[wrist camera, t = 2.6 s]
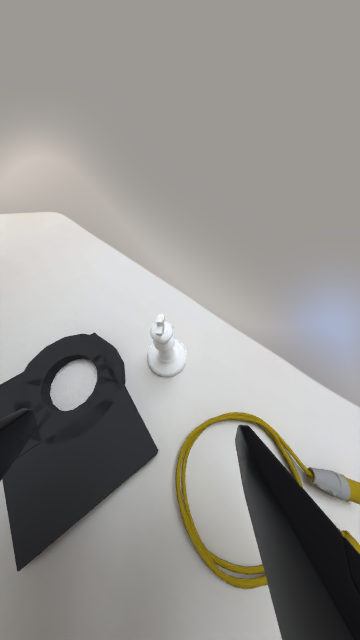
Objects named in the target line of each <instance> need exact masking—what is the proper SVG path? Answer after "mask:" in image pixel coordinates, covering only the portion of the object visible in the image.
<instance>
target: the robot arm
mask: <svg viewBox="0 0 360 640" xmlns="http://www.w3.org/2000/svg"><path fill="white" fill-rule="evenodd" d="M37 424H38V423H37V419H36V415H35V411H34V410H33V409H27V408H24V409H20V410H18V411H16V412H14V413H12V414H10V415H8V416H6V417H4V418H2V419H0V481H1V480H2V478H3V477H4V476H5V474H6V473H7V472H8V470H9V469H10V467H11V466H12V464H13V463H14V461H15V460H16V458H17V457H18V455H19V454H20V452H21V451H22V449H23V448H24V446H25V445H26V443H27V442H28V440H29V439H30V437H31V436H32V434H33V433H34V431H35V429H36V427H37ZM235 444H236V450H237V456H238V462H239V467H240V473H241V479H242V485H243V490H244V494H245V498H246V502H247V506H248V510H249V514H250V518H251V522H252V525H253V529H254V533H255V537H256V541H257V544H258V548H259V552H260V556H261V560H262V564H263V567H264V571H265V575H266V579H267V583H268V587H269V590H270V594H271V598H272V602H273V606H274V610H275V613H276V617H277V621H278V625H279V629H280V633H281V636H282V640H360V553H359V552H358V551H357V550H356V549H355V548H354V547H353V545H352V544H351V543H350V542H349V541H348V540H347V538H345V537H343V535H342V533H341V532H340V531H339V529H338V528H337V527H336V526H335V525H334V524H333V522H332V521H331V520H330V519H329V518H328V517H327V516H326V514H325V513H324V512H323V511H322V510H321V509H320V507H319V506H318V505H317V504H316V503H315V502H314V500H313V499H312V498H311V497H310V496H309V495H308V494H307V492H306V491H305V490H304V489H303V488H302V487H301V485H300V484H299V483H298V482H297V481H296V480H295V479H294V477H293V476H292V475H291V474H290V473H289V472H288V470H287V469H286V468H285V467H284V466H283V465H282V464H281V462H280V461H279V460H278V459H277V458H276V457H275V455H274V454H273V453H272V452H271V451H270V450H269V449H268V447H267V446H266V445H265V444H264V443H263V442H262V440H261V439H260V438H259V437H258V436H257V435H256V434H255V432H254V431H253V430H252V429H251V428H250V427H249V426H248V425H239V426H238V428H237V433H236V438H235Z"/></svg>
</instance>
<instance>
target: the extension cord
mask: <svg viewBox="0 0 360 640" xmlns="http://www.w3.org/2000/svg"><path fill="white" fill-rule="evenodd" d="M228 419H230V420H241V421H248V422H254V423H256V424H258V425H259V426H261V427H262V428H263V429H264V430H265V431H266V432H267V433H268V434H269V435H270V436H271V437H272V439H273V440H274V441H275V443H276V444H277V445H278V447H279V448H280V450H281V452H282V453H283V455H284V457H285V458H286V460H287V462H288V464H289V466H290V468H291V470H292V473H293V475H294V477H295V480H296V481H297V482H298V483H299V484H300V485H301V487H302V483H301V480H300V478H299V475H298V473H297V471H296V469H295V467H294V465H293V463H292V461H291V459H290V457H289V456H288V454H287V452H286V450H285V449H284V447H283V445H284V446H285V448H286V449H287V450H288V451H289V453H290V454H291V455H292V457H293V458H294V459H295V460H296V462H297V463H298V464H299V466H300V467H301V468H302V469H303V470H304V471H305V472H306V473H307V477H308V479H309V481H310V483H312V484H314V485H316V486H317V487H319V488H321V489H322V490H324V491H325V492H327V493H329V494H331V495H332V496H334V497H336V498H339V499H342V500H345V501H352V502H355V503H357V504H360V483H359V482H356V481H353V480H351V479H348V478H346V477H345V476H344V475H341V474H339V473H336V472H333V471H328V470H323V469H316V468H311V467H309V468H308V469H307V468H306V467H305V466H304V465H303V464H302V462H301V461H300V460H299V459H298V457H297V456H296V455H295V454H294V452H293V451H292V450H291V449H290V447H289V446H288V445H287V444H286V443H285V441H284V440H283V439H282V438H281V437H280V436H279V435H278V433H277V432H276V431H275V430H274V429H273V428H272V427H270V426H269V425H268V424H267V423H266V422H264V421H263V420H262V419H260V418H258V417H256V416H253V415H250V414H247V413H238V412H235V413H227V414H223V415H220V416H218V417H215V418H212V419H210V420H208V421H206V422H204V423H203V424H202V425H200V426H199V427H197V428H196V429H195V430H194V431H193V432H192V433H191V434H190V435H189V436H188V437H187V439H186V440H185V442H184V444H183V446H182V448H181V451H180V454H179V458H178V463H177V469H176V489H177V497H178V503H179V507H180V512H181V515H182V518H183V521H184V525H185V527H186V529H187V532H188V534H189V536H190V539H191V540H192V542H193V544H194V546H195V547H196V549H197V551H198V553H199V554H200V556H201V557H202V558H203V560H204V561H205V563H206V564H207V566H208V567H209V568H210V569H211V570H212V571H213V572H214V573H215V574H216V575H217V576H218V577H219V578H221V579H222V580H224V581H225V582H226V583H228V584H230V585H232V586H234V587H238V588H242V589H252V588H256V587H259V586H263V585H268V583H267V579H266V575H265V574H264V575H263V576H261V577H259V578H251V579H241V578H235V577H232V576H229V575H227V574H226V573H224V572H223V571H221V570H220V569H219V568H218V567H217V565H216V564H218V565H219V566H221V567H223V568H225V569H228V570H230V571H232V572H237V573H242V574H247V575H248V574H261V573H264V572H265V571H264V567H263V565H261V566H255V567H244V566H238V565H233V564H231V563H228V562H226V561H224V560H222V559H219V558H218V557H216V556H215V555H213V554H212V553H211V552H209V551H208V550H207V549H206V547H205V546H204V544H203V543H202V541H201V539H200V537H199V535H198V533H197V530H196V528H195V526H194V523H193V520H192V517H191V514H190V510H189V506H188V502H187V496H186V487H185V469H186V462H187V458H188V454H189V451H190V449H191V447H192V445H193V443H194V441H195V440H196V439H197V437H198V436H199V435H200V434H201V433H202V432H203V431H204V430H205V429H206V428H207V427H208V426H209V425H211V424H212V423H215V422H218V421H222V420H228ZM282 444H283V445H282ZM185 452H186V453H185ZM184 454H185V456H184ZM183 456H184V459H183ZM182 459H183V465H182V492H183V498H184V504H185V508H186V511H185V508H184V505H183V501H182V497H181V489H180V468H181V462H182ZM302 488H303V487H302ZM341 533H342V535H343V537H345V538H347V540H348V541H349V542H350V543H351V544H352V545H353V547H354V548H355V549H356V550H357V551H358V552H359V553H360V545H359V543H358V542H357V541H356V540H355V539H354V538H353V537H352V536H351V535H350V533H349V532H348V531H342V532H341ZM215 563H216V564H215Z"/></svg>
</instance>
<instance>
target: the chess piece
mask: <svg viewBox="0 0 360 640" xmlns="http://www.w3.org/2000/svg"><path fill="white" fill-rule="evenodd" d="M164 319H165V315H164V314H159V317H157V319H156V322H155V323H154V324H153V325H152V327H151V329H150V334H151V337H152V338H153V344H152V346H151V347H150V349H149V352H148V362H149V365H150V367H151V369H152V370H153V371H154V372H155V373H156V374H158V375H160V376H165V377H169V376H174V375H176V374H178V373H179V372H180V371H181V370H182V369H183V368H184V366H185V364H186V361H187V352H186V349H185V347H184V345H183V344H182V343H181V342H180V341H179V340H177V339H175V337H174V335H173V333H174V329H173V326H172V325H171V323H169V322H168V321H164Z"/></svg>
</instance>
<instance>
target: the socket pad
mask: <svg viewBox="0 0 360 640" xmlns="http://www.w3.org/2000/svg"><path fill="white" fill-rule="evenodd" d="M79 358H87V359H91V360H92V361H93V362H94V364H95V366H96V368H97V383H96V385H95V388H94V391H93V393H92V394H91V395H90V396H89V398H88V399H87V400H86V401H85V402H84V403H83V404H81V405H80V406H78V407H77V408H75V409H74V410H70V411H61V410H59V409H58V408H57V407H56V406H54V405H53V404H52V400H51V397H50V387H51V383H52V381H53V379H54V377H55V375H56V373H57V372H58V371H59V370H60V369H61V368H62V367H63V366H64V365H65V364H67V363H68V362H70V361H72V360H75V359H79ZM24 408H27V409H33V410H34V411H35V415H36V419H37V423H38V424H37V427H36V429H35V431H34V433H33V434H32V436H31V437H30V439H29V440H28V442H27V443H26V445H25V446H24V448H23V449H22V451H21V452H20V454H19V455H18V457H17V458H16V460H15V461H14V463H13V464H12V466H11V467H10V469H9V470H8V472H7V473H6V474H5V476H4V477H3V478H2V479H3V486H4V492H5V498H6V504H7V510H8V516H9V522H10V529H11V535H12V541H13V547H14V553H15V559H16V565H17V571H20V570H21V569H22V568H23V567H24V566H26V565H27V564H28V563H29V562H30V561H32V560H33V559H34V558H35V557H36V556H37V555H39V554H40V553H41V552H42V551H43V550H44V549H46V548H47V547H48V546H49V545H50V544H52V543H53V542H54V541H55V540H56V539H57V538H59V537H60V536H61V535H62V534H63V533H64V532H66V531H67V530H68V529H69V528H70V527H72V526H73V525H74V524H75V523H76V522H77V521H79V520H80V519H81V518H82V517H83V516H85V515H86V514H87V513H88V512H89V511H90V510H92V509H93V508H94V507H95V506H96V505H97V504H99V503H100V502H101V501H102V500H103V499H105V498H106V497H107V496H108V495H109V494H110V493H112V492H113V491H114V490H115V489H116V488H118V487H119V486H120V485H121V484H122V483H123V482H125V481H126V480H127V479H128V478H129V477H130V476H132V475H133V474H134V473H135V472H136V471H138V470H139V469H140V468H141V467H142V466H143V465H145V464H146V463H147V462H148V461H149V460H150V459H152V458H153V457H154V456H155V455H156V454H157V452H158V449H157V447H156V445H155V443H154V441H153V439H152V437H151V435H150V433H149V431H148V429H147V428H146V426H145V424H144V422H143V420H142V418H141V416H140V414H139V412H138V410H137V408H136V406H135V404H134V402H133V401H132V399H131V397H130V395H129V393H128V391H127V389H126V387H125V369H124V362H123V360H122V359H121V357H120V355H119V353H118V351H117V350H116V348H114V347H113V346H112V345H111V344H110V343H108V342H107V341H105V340H104V339H102V338H101V337H99V336H98V335H97V334H96V333H93V334H91V335H87V334H78V335H73V336H68V337H64V338H62V339H60V340H58V341H56V342H54V343H53V344H51V345H49V346H47V347H46V348H44V349H43V350H42V351H41V352H40V353H39V354H38V355H37V356H36V357H35V358H34V359H33V360H32V361H31V362H30V363H29V364H28V366H27V367H26V369H25V371H24V372H22V373H21V374H19V375H17V376H15V377H13V378H12V379H10V380H8V381H6V382H4V383H3V384H1V385H0V419H2V418H4V417H6V416H8V415H10V414H12V413H14V412H16V411H18V410H20V409H24Z"/></svg>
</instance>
